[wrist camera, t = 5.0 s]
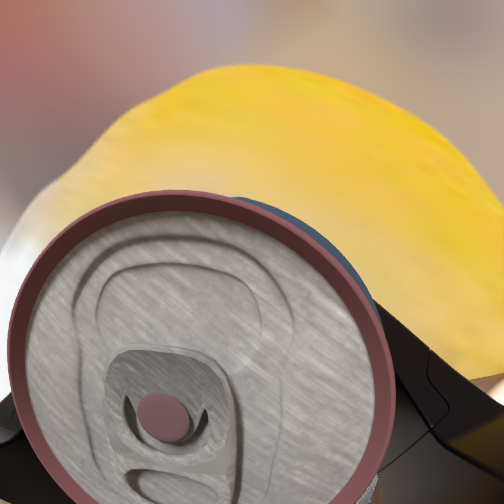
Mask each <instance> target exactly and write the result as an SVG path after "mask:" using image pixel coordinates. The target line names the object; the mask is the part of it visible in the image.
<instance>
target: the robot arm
mask: <svg viewBox="0 0 504 504" xmlns="http://www.w3.org/2000/svg"><path fill="white" fill-rule="evenodd" d="M373 301H374V303H375V306H376V308H377V311H378V313H379V316H380V319H381V322H382V326H383V329H384V333H385V337H386V340H387V343H388V347H389V350H390V354H391V358H392V363H393V369H394V375H395V386H396V408H395V417H394V424H393V429H392V434H391V438H390V442H389V445H388V448H387V451H386V454H385V456H384V459H383V461H382V463H381V465H380V467H379V470H378V471H377V477H378V481H379V485H380V490H381V494H382V498H383V503H384V504H504V405H502V404H500V403H499V402H497V401H496V400H494V399H493V398H492V397H490V396H489V395H488V394H486V393H485V392H484V391H482V390H481V389H480V388H478V387H477V386H475V385H474V384H473V383H471V382H470V381H469V380H467V379H466V378H465V377H463V376H462V375H461V374H460V373H458V372H457V371H456V370H454V369H453V368H452V367H451V366H450V365H448V364H447V363H446V362H445V361H444V360H443V359H441V358H440V357H439V356H438V355H437V354H436V353H435V352H434V351H433V350H430V348H429V347H428V346H427V345H426V344H425V343H423V342H422V341H421V340H420V339H419V338H418V337H417V336H415V335H414V334H413V333H412V332H411V331H410V330H409V329H407V328H406V327H405V326H404V325H403V324H402V323H401V322H399V321H398V320H397V319H396V318H395V317H394V316H392V315H391V314H390V313H389V312H388V311H387V310H385V309H384V308H383V307H382V306H381V305H380V304H378V303H377V302H376V301H375V300H374V299H373ZM0 504H76V503H75V502H74V501H73V500H72V499H71V498H70V497H69V496H68V495H67V494H66V493H65V492H64V491H63V490H62V489H61V488H60V486H59V485H58V484H57V483H56V482H55V481H54V479H53V478H52V477H51V475H50V474H49V473H48V472H47V470H46V469H45V467H44V466H43V464H42V463H41V461H40V460H39V458H38V457H37V455H36V453H35V452H34V450H33V448H32V446H31V444H30V442H29V440H28V438H27V436H26V434H25V432H24V430H23V427H22V425H21V422H20V419H19V417H18V414H17V411H16V407H15V404H14V400H13V396H12V392H11V393H10V394H9V395H8V396H6V397H5V398H4V399H3V400H2V401H1V402H0Z"/></svg>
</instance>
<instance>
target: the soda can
mask: <svg viewBox="0 0 504 504" xmlns="http://www.w3.org/2000/svg"><path fill="white" fill-rule="evenodd" d="M7 362H8V373H9V380H10V386H11V391H12V396H13V400H14V404H15V407H16V411H17V414H18V417H19V419H20V422H21V425H22V427H23V430H24V432H25V434H26V436H27V438H28V440H29V442H30V444H31V446H32V448H33V450H34V452H35V453H36V455H37V457H38V458H39V460H40V461H41V463H42V464H43V466H44V467H45V469H46V470H47V472H48V473H49V474H50V475H51V477H52V478H53V479H54V481H55V482H56V483H57V484H58V485H59V486H60V488H61V489H62V490H63V491H64V492H65V493H66V494H67V495H68V496H69V497H70V498H71V499H72V500H73V501H74V502H75V503H76V504H355V503H356V501H357V500H358V499H359V498H360V497H361V496H362V494H363V493H364V492H365V490H366V489H367V488H368V486H369V485H370V483H371V482H372V480H373V478H374V477H375V475H376V473H377V471H378V470H379V467H380V465H381V463H382V461H383V459H384V456H385V454H386V451H387V448H388V445H389V442H390V438H391V434H392V429H393V424H394V417H395V408H396V386H395V375H394V369H393V363H392V358H391V354H390V350H389V347H388V343H387V340H386V337H385V333H384V329H383V326H382V322H381V319H380V316H379V313H378V311H377V308H376V306H375V303H374V301H373V299H372V297H371V295H370V293H369V291H368V289H367V287H366V286H365V284H364V282H363V281H362V279H361V278H360V276H359V275H358V273H357V272H356V270H355V269H354V268H353V266H352V265H351V264H350V263H349V261H348V260H347V259H346V258H345V257H344V256H343V255H342V253H341V252H340V251H339V250H338V249H337V248H336V247H335V246H334V245H333V244H331V243H330V242H329V241H328V240H327V239H326V238H325V237H323V236H322V235H321V234H320V233H318V232H317V231H316V230H314V229H313V228H312V227H310V226H309V225H307V224H306V223H304V222H303V221H301V220H299V219H297V218H296V217H294V216H292V215H290V214H288V213H286V212H284V211H282V210H280V209H278V208H275V207H273V206H270V205H267V204H265V203H262V202H258V201H255V200H251V199H248V198H243V197H238V196H233V195H224V194H213V193H208V192H201V191H191V190H161V191H151V192H145V193H139V194H134V195H131V196H127V197H123V198H120V199H117V200H114V201H111V202H108V203H106V204H104V205H102V206H99V207H97V208H95V209H93V210H91V211H90V212H88V213H86V214H84V215H83V216H81V217H79V218H78V219H77V220H75V221H74V222H72V223H71V224H70V225H68V226H67V227H66V228H65V229H64V230H62V231H61V232H60V233H59V234H58V235H57V236H56V237H55V238H54V239H53V240H52V241H51V242H50V243H49V244H48V245H47V247H46V248H45V249H44V250H43V251H42V253H41V254H40V255H39V257H38V258H37V259H36V261H35V262H34V264H33V265H32V267H31V269H30V270H29V272H28V274H27V275H26V277H25V279H24V281H23V283H22V285H21V288H20V290H19V292H18V295H17V297H16V300H15V303H14V306H13V309H12V313H11V318H10V322H9V329H8V339H7Z"/></svg>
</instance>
